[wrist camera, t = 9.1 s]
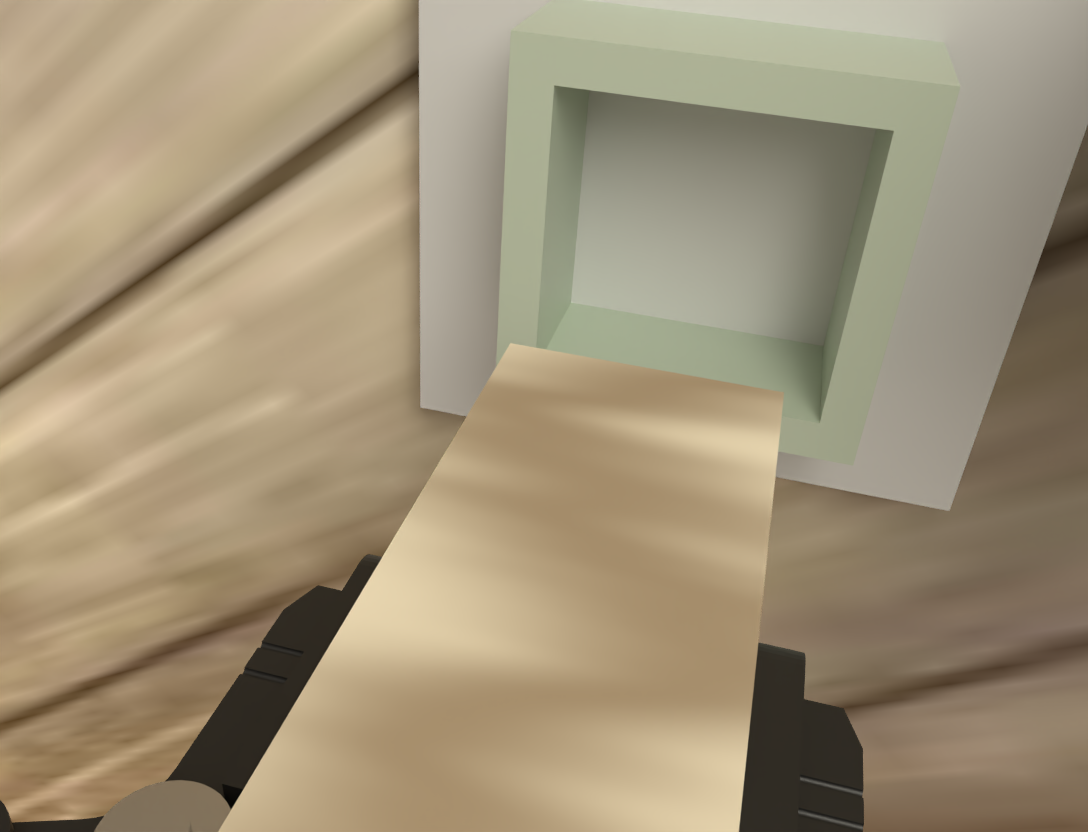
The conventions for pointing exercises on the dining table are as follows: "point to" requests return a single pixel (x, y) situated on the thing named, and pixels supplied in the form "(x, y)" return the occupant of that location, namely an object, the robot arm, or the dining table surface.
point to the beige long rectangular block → (550, 621)
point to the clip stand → (751, 205)
